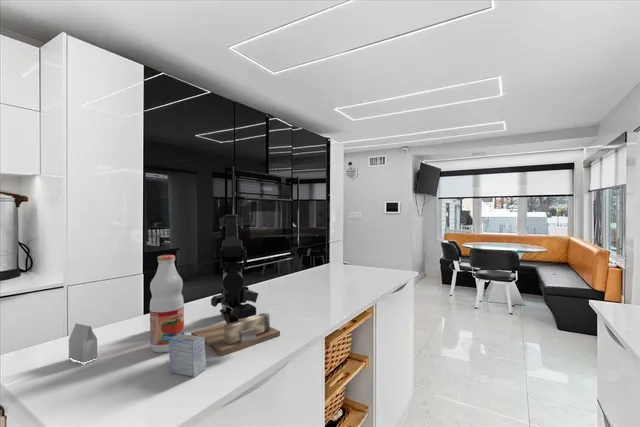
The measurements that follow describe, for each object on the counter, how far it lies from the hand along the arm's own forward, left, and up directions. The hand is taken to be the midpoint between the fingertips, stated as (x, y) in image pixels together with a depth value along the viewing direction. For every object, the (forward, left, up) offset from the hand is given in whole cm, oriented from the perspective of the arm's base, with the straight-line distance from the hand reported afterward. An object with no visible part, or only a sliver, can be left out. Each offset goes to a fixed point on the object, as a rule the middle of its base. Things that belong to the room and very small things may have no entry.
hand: (232, 331), depth 103 cm
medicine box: (+9, -18, -3) cm, 21 cm away
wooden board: (-3, +3, -3) cm, 5 cm away
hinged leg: (+4, +4, -1) cm, 5 cm away
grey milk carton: (-19, -36, -3) cm, 41 cm away
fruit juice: (-11, -16, -3) cm, 20 cm away
